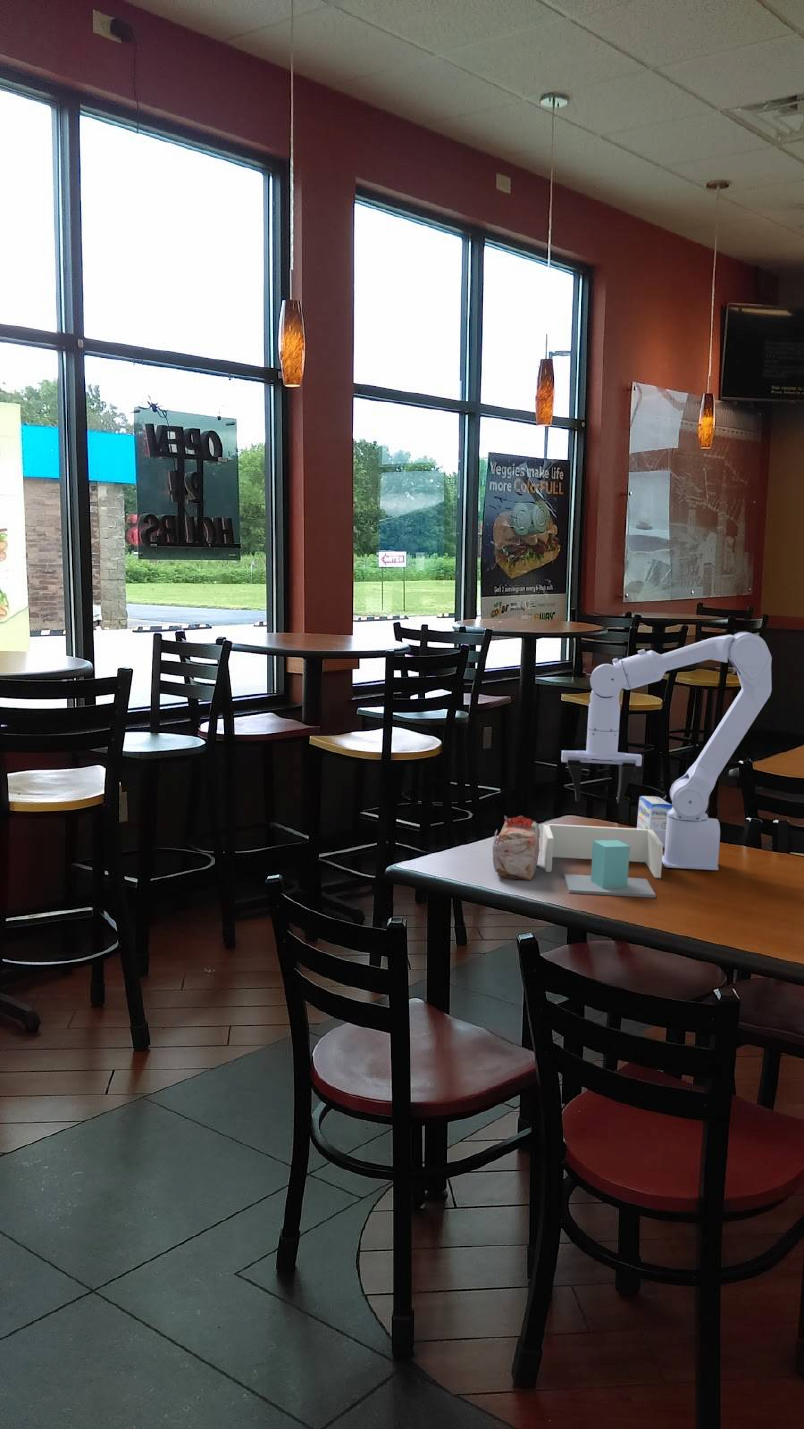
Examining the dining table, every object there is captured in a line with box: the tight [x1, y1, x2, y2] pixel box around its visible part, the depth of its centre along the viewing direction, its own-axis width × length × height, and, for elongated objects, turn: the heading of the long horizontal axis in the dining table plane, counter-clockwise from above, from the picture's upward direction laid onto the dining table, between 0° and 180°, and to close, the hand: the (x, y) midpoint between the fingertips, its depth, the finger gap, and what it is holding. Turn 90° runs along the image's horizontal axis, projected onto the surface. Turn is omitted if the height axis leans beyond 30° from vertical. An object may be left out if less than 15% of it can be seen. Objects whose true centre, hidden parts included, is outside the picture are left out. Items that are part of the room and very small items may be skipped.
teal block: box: [590, 840, 630, 888], centre depth 190 cm, size 4×4×7 cm
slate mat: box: [563, 873, 657, 898], centre depth 190 cm, size 14×10×1 cm
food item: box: [492, 815, 541, 881], centre depth 197 cm, size 14×8×10 cm, turn 171°
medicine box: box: [636, 795, 673, 848], centre depth 224 cm, size 8×4×9 cm, turn 6°
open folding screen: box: [541, 823, 664, 879], centre depth 204 cm, size 20×12×6 cm, turn 86°
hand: (598, 802), depth 210 cm, fingers open, 7 cm apart
